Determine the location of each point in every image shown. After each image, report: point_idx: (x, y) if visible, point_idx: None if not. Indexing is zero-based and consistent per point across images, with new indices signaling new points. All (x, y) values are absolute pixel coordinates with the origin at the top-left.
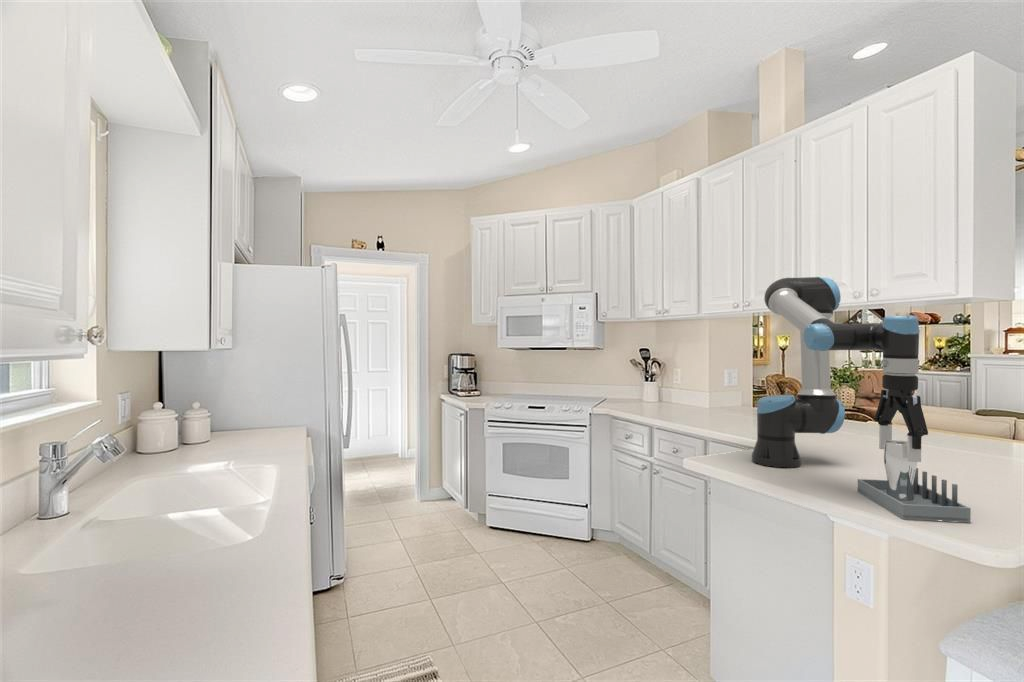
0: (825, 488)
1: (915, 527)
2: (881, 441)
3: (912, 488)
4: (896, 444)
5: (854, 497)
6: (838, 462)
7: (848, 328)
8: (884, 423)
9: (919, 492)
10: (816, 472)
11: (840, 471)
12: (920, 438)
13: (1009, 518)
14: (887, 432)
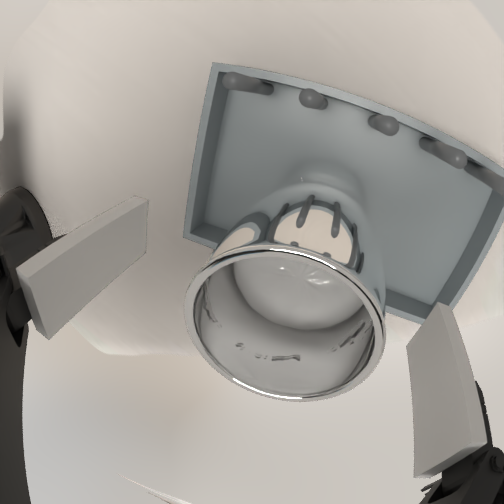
0: (178, 279)
1: (467, 320)
2: (119, 272)
3: (353, 195)
4: (326, 397)
5: None
6: (11, 99)
7: None
8: (18, 314)
9: (274, 82)
10: (63, 196)
11: (51, 133)
12: (488, 445)
13: (477, 21)
14: (73, 275)
